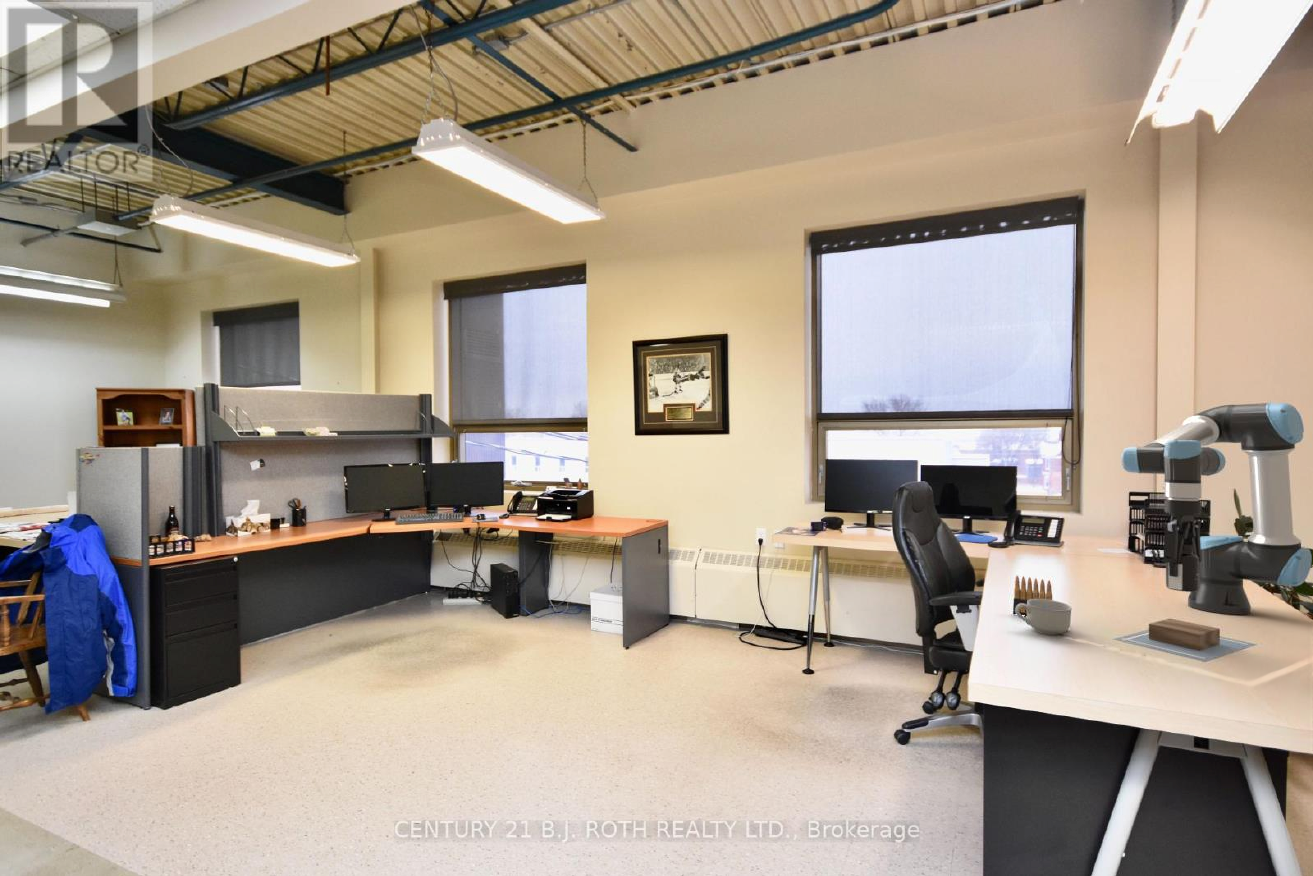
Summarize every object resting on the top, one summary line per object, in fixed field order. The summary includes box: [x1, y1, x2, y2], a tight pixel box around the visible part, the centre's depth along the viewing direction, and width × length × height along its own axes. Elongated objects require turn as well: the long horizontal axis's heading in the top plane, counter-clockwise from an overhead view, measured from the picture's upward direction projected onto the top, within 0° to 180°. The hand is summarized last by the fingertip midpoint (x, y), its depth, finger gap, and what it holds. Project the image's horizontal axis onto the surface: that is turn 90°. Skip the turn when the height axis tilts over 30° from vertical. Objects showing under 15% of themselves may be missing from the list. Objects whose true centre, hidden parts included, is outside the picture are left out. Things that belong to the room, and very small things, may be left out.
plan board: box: [1112, 629, 1257, 663], centre depth 170 cm, size 28×20×1 cm
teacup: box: [1015, 599, 1073, 636], centre depth 183 cm, size 14×11×8 cm
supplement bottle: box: [1165, 543, 1199, 593], centre depth 171 cm, size 7×7×12 cm
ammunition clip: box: [1012, 575, 1053, 616], centre depth 197 cm, size 11×2×12 cm, turn 41°
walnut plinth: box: [1148, 618, 1221, 651], centre depth 170 cm, size 11×11×4 cm
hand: (1182, 587), depth 171 cm, fingers closed on supplement bottle, 7 cm apart
